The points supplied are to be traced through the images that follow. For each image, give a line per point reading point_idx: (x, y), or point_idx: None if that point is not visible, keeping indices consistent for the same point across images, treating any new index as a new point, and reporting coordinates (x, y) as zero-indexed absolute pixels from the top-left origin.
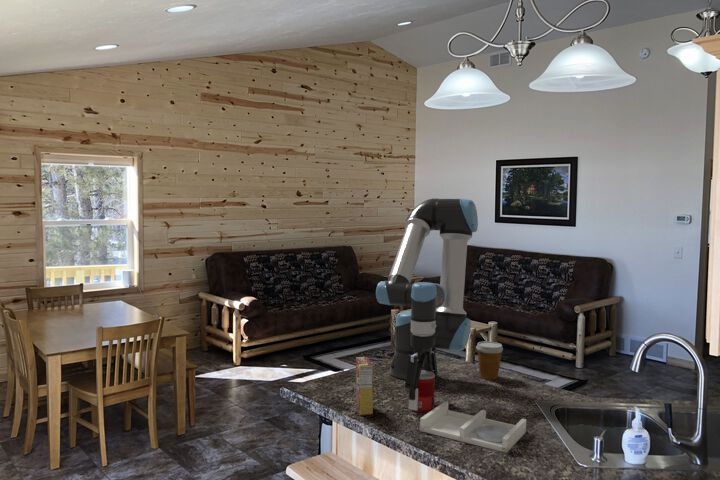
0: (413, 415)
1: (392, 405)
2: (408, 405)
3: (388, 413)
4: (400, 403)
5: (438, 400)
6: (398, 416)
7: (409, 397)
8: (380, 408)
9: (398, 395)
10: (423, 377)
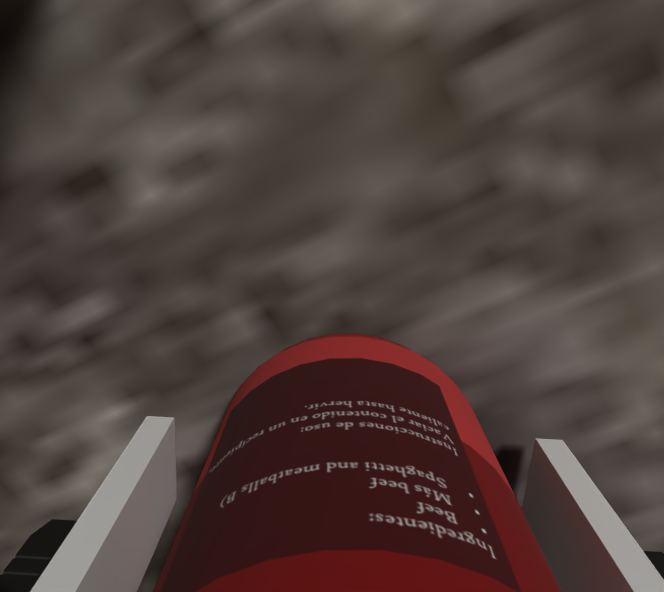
0: None
1: (261, 152)
2: (272, 357)
3: (18, 226)
4: (371, 206)
5: (643, 500)
6: (19, 349)
7: (27, 547)
8: (87, 68)
9: (634, 53)
10: None
